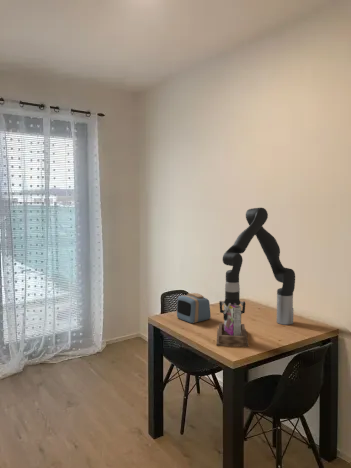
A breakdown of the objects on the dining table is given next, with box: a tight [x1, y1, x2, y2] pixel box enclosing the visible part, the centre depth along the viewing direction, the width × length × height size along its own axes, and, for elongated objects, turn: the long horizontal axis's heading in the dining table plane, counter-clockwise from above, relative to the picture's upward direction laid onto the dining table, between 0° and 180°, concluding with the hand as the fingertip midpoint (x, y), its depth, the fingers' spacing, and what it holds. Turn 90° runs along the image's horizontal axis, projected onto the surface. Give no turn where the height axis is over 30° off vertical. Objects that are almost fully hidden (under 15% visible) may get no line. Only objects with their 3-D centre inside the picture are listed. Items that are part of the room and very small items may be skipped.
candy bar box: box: [223, 303, 242, 336], centre depth 209 cm, size 11×5×16 cm, turn 20°
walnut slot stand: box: [216, 322, 249, 348], centre depth 210 cm, size 16×24×4 cm, turn 173°
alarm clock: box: [176, 292, 212, 324], centre depth 243 cm, size 16×16×16 cm
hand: (232, 320), depth 209 cm, fingers closed on candy bar box, 6 cm apart
